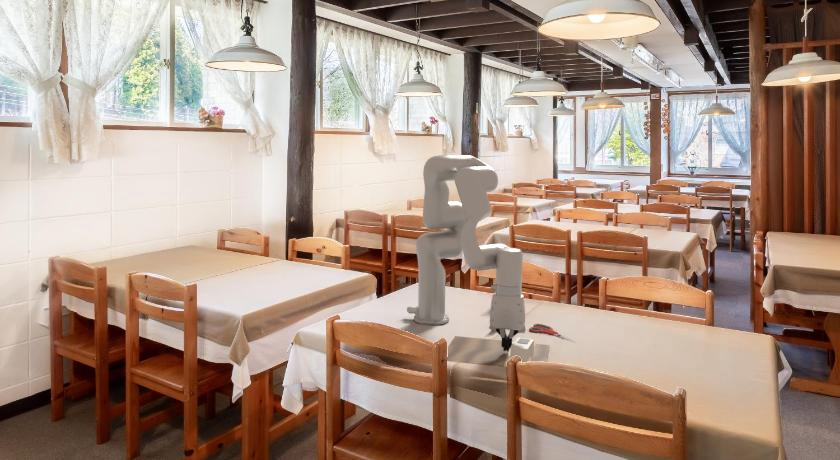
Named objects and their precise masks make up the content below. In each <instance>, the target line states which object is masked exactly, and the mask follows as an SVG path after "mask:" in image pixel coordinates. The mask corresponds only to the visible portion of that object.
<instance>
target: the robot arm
mask: <svg viewBox="0 0 840 460" xmlns="http://www.w3.org/2000/svg"><path fill="white" fill-rule="evenodd" d="M497 174H498V173H497V172H496V171H495V169H494V168H493V167H492V166H490V165H489V164H487V163H486V162H484V161H482V160H481V159H479V158H477V157H475V156H473V155H468V154H466V155H465V154H440V155H433V156H432V157H431V156H430V157H429V158H428V159H427V160H426V162H425V163H424V166H423V170H422V175H423V184H424V194H423V195H424V197H423V206H422V207H423V208H422V224H423V226H424V227H425V228H426V229H427V230H428V229H429V230H443V229H444V231H433V232H426V233H425V232H424V233H423V234H421V235H420V236H419V237H417V238H416V241H415V251H416V257H417V266H418V268H417V269H418V292H417V293H418V294H417V295H418V301H417V303H418V304H417V306H414V307H413V306H407V308H406V312H407V313H408V314H411V315H412V314H414V316H413V321H414V322H415V323H418V324H419V325H426V326H427V325H428V326H437V325H438V326H439V325H443V324H444V325H445V324H447V323H448V322H450V316H449V315H448V314H446V269H445V267H444V265H443V263H442V262H441V260H443V259H449V258H455V257H459V256H460V255H461V254H463V256H464V259H465V262H466V264H467V265H468V267H469V268H470V269H472V270H473V271H476V272H477V271H478V272H479V271H480V272H481V271H486V270H487V271H488V270H495V284H491V285H490V290H492V291H494V293H493V294H492V297H491V302H490V310H489V327H488V329H489V330H494V331H493V332H496V333H497V334H498V335H499V336H500V338H501V340H502V347H503V351H509V349H510V347H511V345H512V342H513V338H514V337H515V336H516V335H517V334H522V333H526V325H525V324H526V305H525V298H524V294H522V287H523V286H522V284H523V283H522V282H523V260H524V259H523V255H524V254H523V252H522V250H521V249H518V248H515V247H510V246H508V245H506V244H504V243H490V244H489V243H487V244H480V245H479V242H478V238H477V235H476V229H477V225H478V224H479V222H481V221H483V220H484V219H486V218H488V217H489V216H490V215H491V214H492V211H493V208H492V205H491V202H490V200H489V196H488V194H487V193H492V192H494V191H496V189H497V187H498V184H499V179H498V175H497ZM447 181H448V182H449V181H450V182H451V181H452V182H453V181H454V184H455V186H456V187H455V188H456V191H457V194H458V197H459V199H460V201H455V200H450V188H449V186H448V184H447ZM445 229H446V230H445ZM506 330H509V332H508V335H507V332H506Z"/></svg>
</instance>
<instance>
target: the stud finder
mask: <svg viewBox="0 0 840 460" xmlns="http://www.w3.org/2000/svg"><path fill="white" fill-rule="evenodd" d="M513 342H514V343H513V344H512V345H511V347H510V358H511V357H512V356H514V355H518V356H520V357H521V359H522V362H527V361H528V360H529V359H530V357H531V356H532V354H533V353H534V344H535V339H532V338H527V337H526V338H525V337H516V338H515V341H513Z"/></svg>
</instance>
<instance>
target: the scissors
mask: <svg viewBox="0 0 840 460" xmlns="http://www.w3.org/2000/svg"><path fill="white" fill-rule="evenodd" d="M528 331H529V332H530V333H535V334H545V335H549V336H554V337H558V338H560V339H563V340H564V341H565V340H566V341H569V342H571V343H575V344H576V343H577V341H574V340H572V339H571V338H568V337H566V336H564V335H561V334H559V332H557V331H555V330H554V327H551V326H548V325H546V324H542V323H534V324H533V326H532V327H530V328H528Z"/></svg>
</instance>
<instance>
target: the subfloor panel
mask: <svg viewBox="0 0 840 460" xmlns="http://www.w3.org/2000/svg"><path fill="white" fill-rule="evenodd" d="M513 343H514V341H512V344H513ZM447 348H448V357H447V361H448V362H454V363H465V364H471V365H481V366H482V365H484V366H493V367H500V368H501V367H502V368H507V367H506V362H507V361H508V360H509V359H510V349H509V351H503V347H502V339H501V340H499V339H490V338H489V339H487V338H482V337H481V338H480V337H479V338H478V337H468V336H461V335H460V336H459V335H458V336H457V335H455V336H453V339H452V340H451V342H450V344H448V346H447ZM549 349H550V344H541V343H534V353H533V354H532V356H531V357H530V359H529V360H528V361H544V362H547V363H548V357H549V356H548V355H549ZM447 361H446V362H447Z"/></svg>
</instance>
